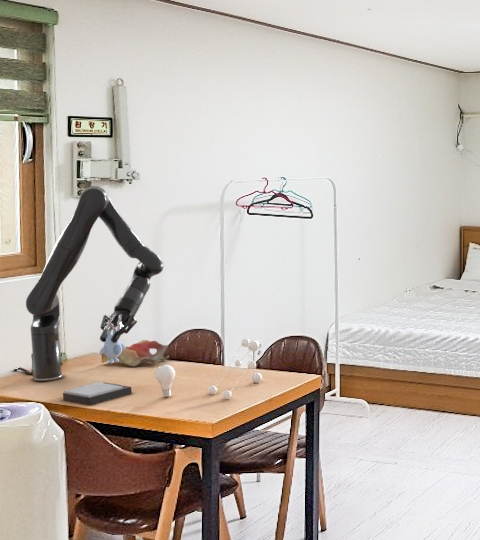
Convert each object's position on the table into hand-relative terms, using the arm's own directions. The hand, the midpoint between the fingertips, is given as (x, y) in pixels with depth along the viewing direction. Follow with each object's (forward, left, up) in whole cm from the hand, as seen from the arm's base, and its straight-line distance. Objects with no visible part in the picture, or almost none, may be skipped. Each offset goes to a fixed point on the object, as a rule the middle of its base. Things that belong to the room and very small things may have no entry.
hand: (107, 341), depth 309 cm
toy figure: (0, +2, -8) cm, 9 cm away
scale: (+11, -13, -16) cm, 23 cm away
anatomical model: (-21, +30, -16) cm, 40 cm away
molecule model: (+48, +15, -16) cm, 53 cm away
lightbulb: (+33, -3, -16) cm, 37 cm away
